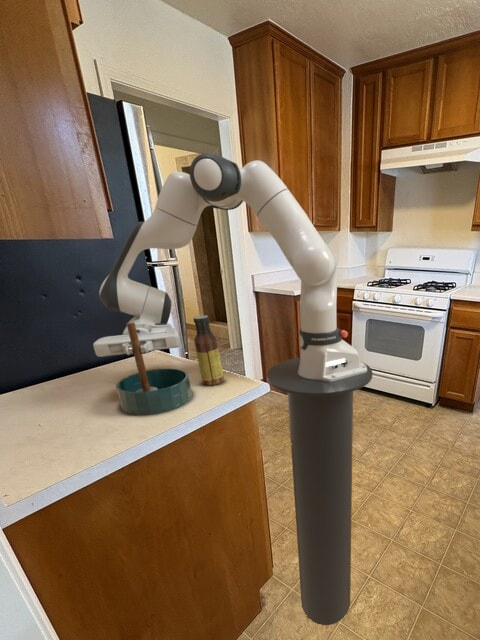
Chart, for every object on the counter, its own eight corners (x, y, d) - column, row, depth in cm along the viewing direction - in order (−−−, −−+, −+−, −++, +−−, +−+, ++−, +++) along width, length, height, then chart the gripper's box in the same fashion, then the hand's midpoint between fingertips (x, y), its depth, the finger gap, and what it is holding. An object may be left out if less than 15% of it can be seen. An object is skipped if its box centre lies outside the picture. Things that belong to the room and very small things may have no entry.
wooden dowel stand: (158, 389, 96) (143, 319, 89) (158, 396, 92) (141, 324, 84) (137, 392, 95) (119, 322, 87) (136, 400, 90) (117, 326, 83)
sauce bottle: (224, 377, 109) (215, 313, 102) (224, 384, 104) (214, 317, 96) (202, 379, 108) (191, 315, 100) (200, 387, 102) (189, 319, 95)
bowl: (190, 383, 105) (186, 364, 103) (193, 407, 90) (189, 385, 88) (125, 393, 99) (120, 373, 97) (118, 420, 84) (111, 397, 82)
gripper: (95, 330, 95) (84, 343, 83) (176, 322, 102) (177, 333, 90) (101, 353, 97) (92, 368, 85) (180, 343, 104) (182, 357, 92)
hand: (136, 350), depth 88 cm, fingers closed on wooden dowel stand
